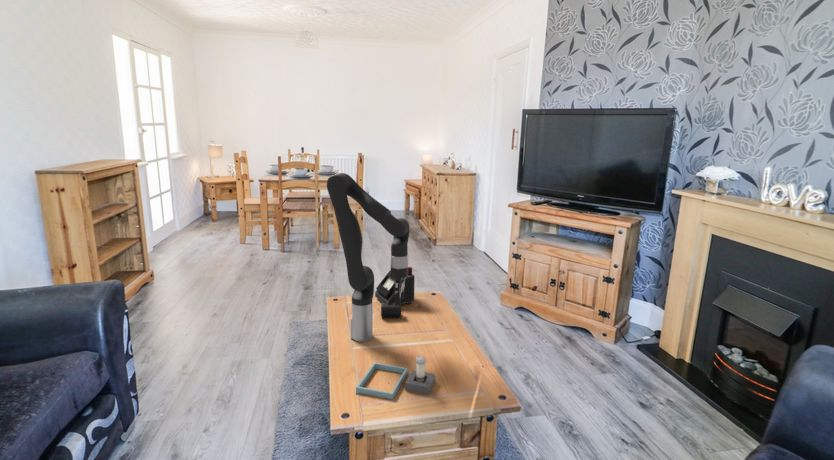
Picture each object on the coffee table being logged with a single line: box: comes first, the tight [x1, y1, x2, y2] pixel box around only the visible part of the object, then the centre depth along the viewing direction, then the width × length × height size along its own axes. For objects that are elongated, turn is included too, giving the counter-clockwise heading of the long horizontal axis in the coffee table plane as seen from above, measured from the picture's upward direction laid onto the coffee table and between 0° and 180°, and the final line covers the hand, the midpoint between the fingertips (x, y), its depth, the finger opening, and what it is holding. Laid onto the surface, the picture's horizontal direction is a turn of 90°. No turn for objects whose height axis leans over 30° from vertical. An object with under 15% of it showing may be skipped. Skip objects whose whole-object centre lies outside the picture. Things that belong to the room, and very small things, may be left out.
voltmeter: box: [374, 266, 416, 305], centre depth 244 cm, size 16×16×20 cm
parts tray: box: [355, 362, 409, 400], centre depth 167 cm, size 14×18×3 cm
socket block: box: [404, 369, 436, 396], centre depth 165 cm, size 9×9×4 cm
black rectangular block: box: [380, 302, 402, 319], centre depth 225 cm, size 10×7×7 cm
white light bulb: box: [415, 355, 427, 383], centre depth 164 cm, size 4×4×11 cm
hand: (399, 302), depth 192 cm, fingers open, 8 cm apart
